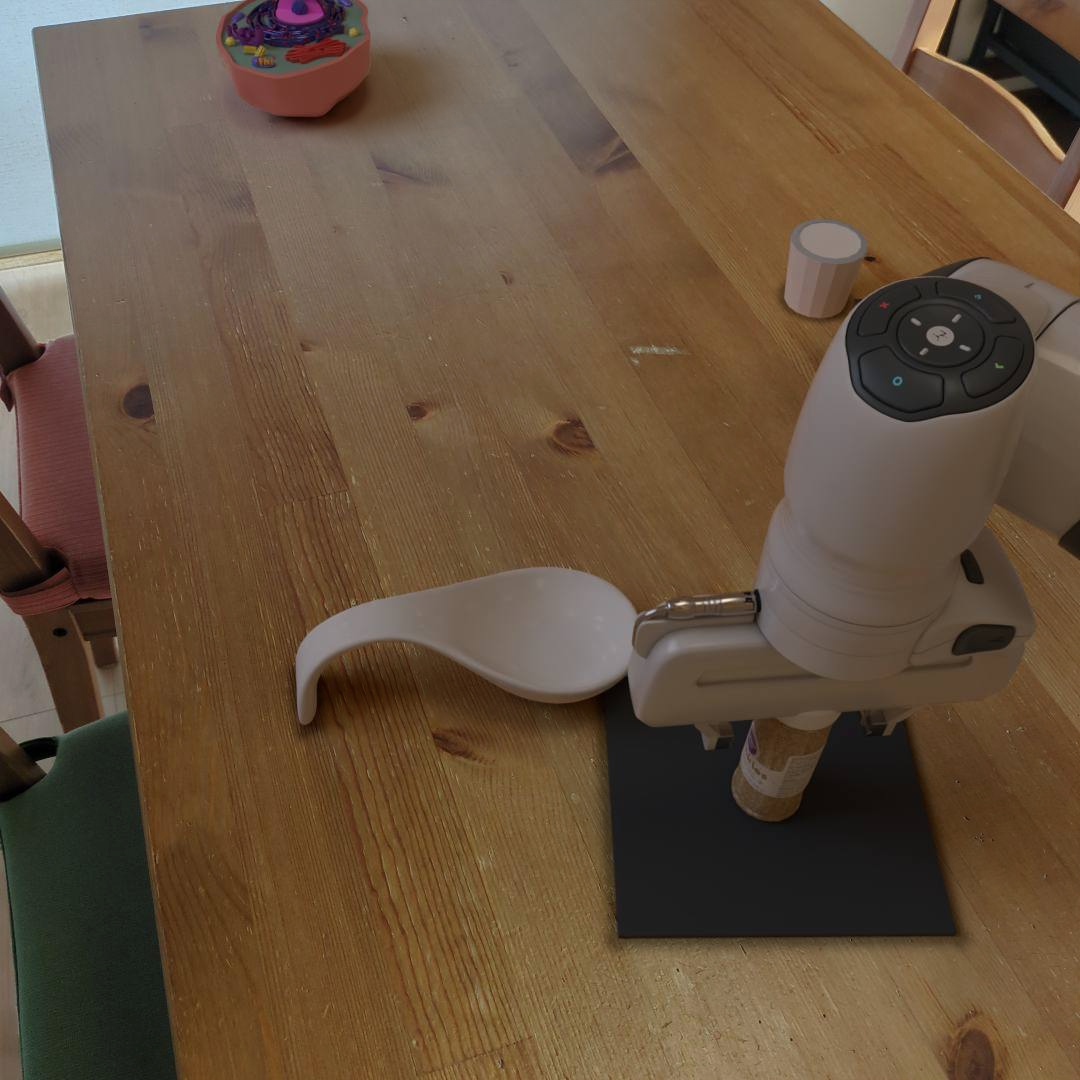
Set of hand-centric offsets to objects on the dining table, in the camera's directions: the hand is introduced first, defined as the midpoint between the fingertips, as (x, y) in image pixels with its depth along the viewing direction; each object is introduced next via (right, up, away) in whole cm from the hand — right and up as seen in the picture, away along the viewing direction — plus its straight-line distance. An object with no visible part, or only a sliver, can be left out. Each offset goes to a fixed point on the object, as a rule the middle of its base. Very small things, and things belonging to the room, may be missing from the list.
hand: (794, 732), depth 65 cm
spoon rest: (-19, +2, +12) cm, 23 cm away
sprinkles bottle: (0, -5, +6) cm, 8 cm away
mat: (0, -6, +7) cm, 9 cm away
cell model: (-42, +61, +62) cm, 96 cm away
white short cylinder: (+11, +33, +40) cm, 53 cm away
